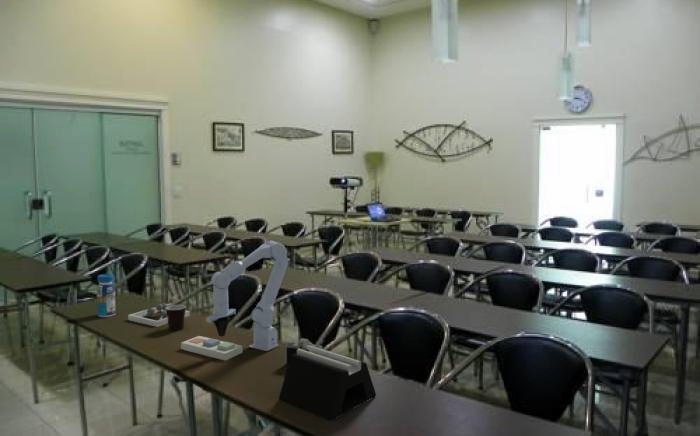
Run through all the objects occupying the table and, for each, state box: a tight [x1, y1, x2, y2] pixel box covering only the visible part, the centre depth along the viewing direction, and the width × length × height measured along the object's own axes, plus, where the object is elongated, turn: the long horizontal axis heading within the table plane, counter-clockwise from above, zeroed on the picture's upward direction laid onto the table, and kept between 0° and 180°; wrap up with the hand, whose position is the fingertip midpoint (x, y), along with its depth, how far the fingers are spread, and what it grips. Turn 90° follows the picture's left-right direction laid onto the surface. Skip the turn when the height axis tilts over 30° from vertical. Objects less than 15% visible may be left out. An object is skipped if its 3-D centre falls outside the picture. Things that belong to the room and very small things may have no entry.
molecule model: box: [143, 302, 172, 320], centre depth 268 cm, size 15×9×11 cm
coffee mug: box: [166, 304, 187, 332], centre depth 251 cm, size 12×9×10 cm
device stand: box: [278, 345, 377, 421], centre depth 179 cm, size 22×22×15 cm
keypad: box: [180, 335, 244, 361], centre depth 222 cm, size 24×10×3 cm, turn 60°
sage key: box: [218, 341, 236, 351], centre depth 218 cm, size 5×5×2 cm
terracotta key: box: [189, 337, 206, 344], centre depth 226 cm, size 5×5×2 cm
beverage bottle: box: [96, 273, 117, 318], centre depth 270 cm, size 8×8×20 cm
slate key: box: [203, 337, 221, 347], centre depth 222 cm, size 5×5×2 cm
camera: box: [285, 338, 324, 367], centre depth 208 cm, size 15×7×10 cm, turn 73°
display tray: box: [127, 306, 191, 328], centre depth 266 cm, size 20×20×2 cm
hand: (221, 335), depth 219 cm, fingers closed
